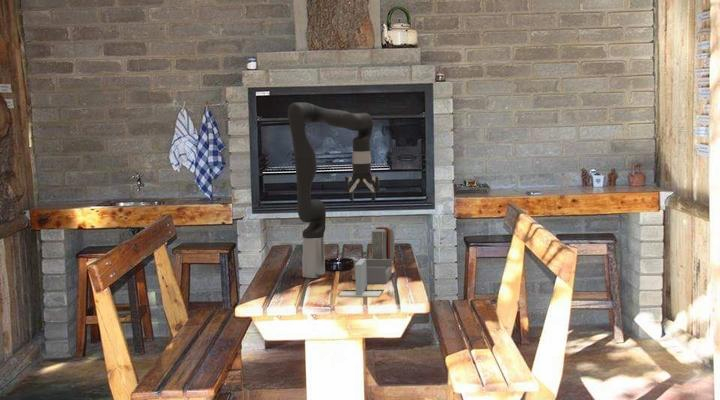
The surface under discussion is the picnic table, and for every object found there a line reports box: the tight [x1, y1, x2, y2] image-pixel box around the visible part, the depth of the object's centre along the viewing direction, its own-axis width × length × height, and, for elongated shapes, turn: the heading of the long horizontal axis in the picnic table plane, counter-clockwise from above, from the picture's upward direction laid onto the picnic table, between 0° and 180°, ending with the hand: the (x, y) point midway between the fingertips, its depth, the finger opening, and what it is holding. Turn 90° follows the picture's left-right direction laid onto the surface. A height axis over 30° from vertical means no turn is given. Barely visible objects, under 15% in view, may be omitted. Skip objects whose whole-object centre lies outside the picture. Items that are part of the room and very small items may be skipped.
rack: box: [366, 258, 393, 285], centre depth 374 cm, size 12×18×8 cm, turn 171°
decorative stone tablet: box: [371, 226, 396, 266], centre depth 402 cm, size 19×6×30 cm
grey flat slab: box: [354, 258, 368, 295], centre depth 353 cm, size 2×13×12 cm, turn 171°
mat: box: [338, 289, 385, 298], centre depth 354 cm, size 16×14×1 cm
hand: (362, 201), depth 370 cm, fingers open, 8 cm apart
